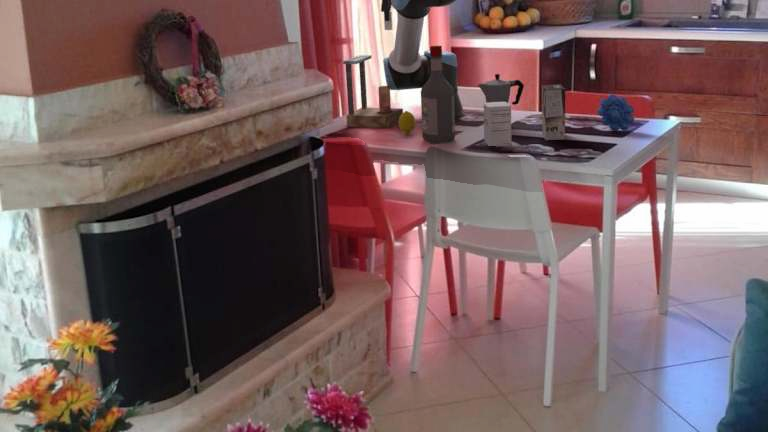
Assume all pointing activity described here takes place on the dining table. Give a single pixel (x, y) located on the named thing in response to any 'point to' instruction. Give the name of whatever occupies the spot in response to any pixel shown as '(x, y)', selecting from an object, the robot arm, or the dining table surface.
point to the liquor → (437, 103)
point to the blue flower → (616, 112)
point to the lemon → (406, 122)
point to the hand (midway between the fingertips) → (395, 27)
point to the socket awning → (364, 114)
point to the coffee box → (553, 112)
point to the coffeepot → (500, 90)
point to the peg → (384, 99)
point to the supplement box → (497, 123)
